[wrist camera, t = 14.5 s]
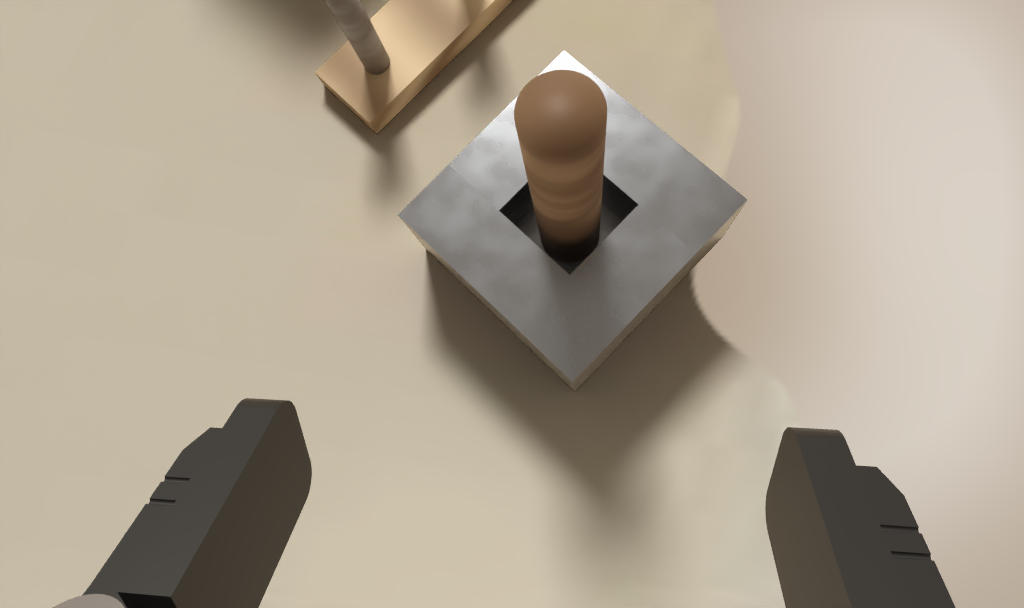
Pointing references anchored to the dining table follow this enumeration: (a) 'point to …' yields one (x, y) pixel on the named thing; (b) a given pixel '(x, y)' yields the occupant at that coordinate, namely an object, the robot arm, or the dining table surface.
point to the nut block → (621, 247)
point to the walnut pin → (564, 159)
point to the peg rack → (398, 50)
